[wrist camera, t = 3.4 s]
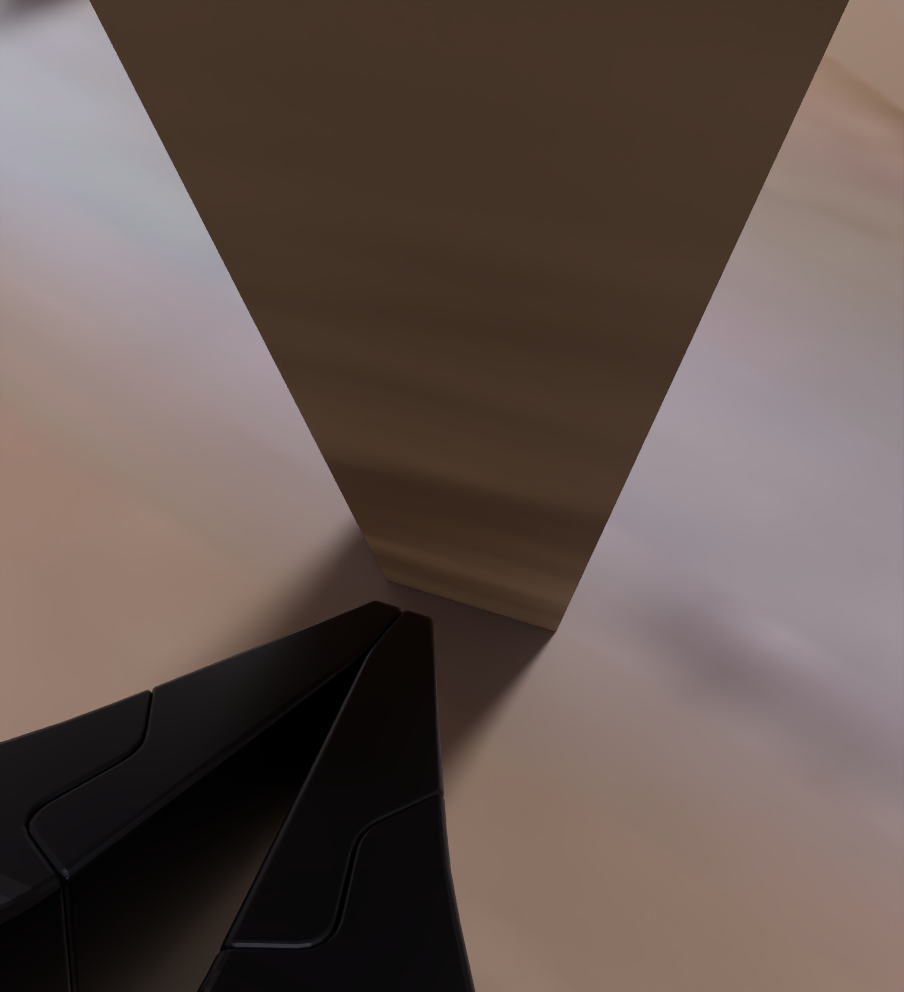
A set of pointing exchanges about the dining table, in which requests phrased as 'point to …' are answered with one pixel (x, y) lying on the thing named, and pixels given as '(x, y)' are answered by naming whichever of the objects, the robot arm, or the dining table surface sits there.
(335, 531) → the dining table surface
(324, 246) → the wooden block
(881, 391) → the dining table surface
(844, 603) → the dining table surface
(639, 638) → the dining table surface
